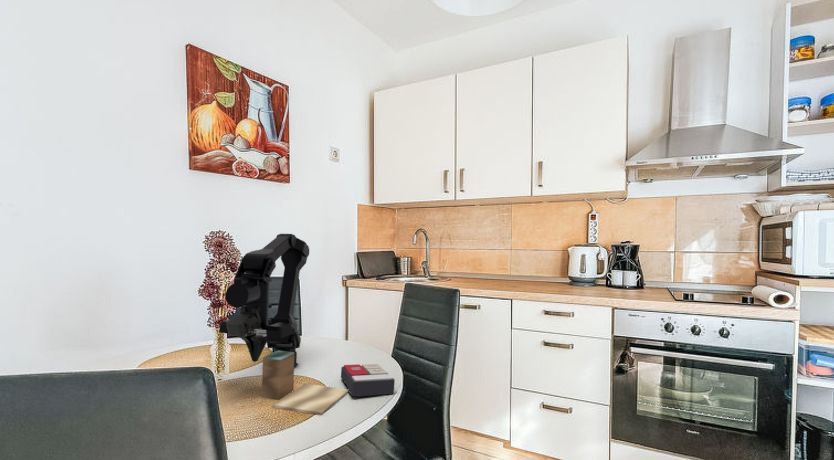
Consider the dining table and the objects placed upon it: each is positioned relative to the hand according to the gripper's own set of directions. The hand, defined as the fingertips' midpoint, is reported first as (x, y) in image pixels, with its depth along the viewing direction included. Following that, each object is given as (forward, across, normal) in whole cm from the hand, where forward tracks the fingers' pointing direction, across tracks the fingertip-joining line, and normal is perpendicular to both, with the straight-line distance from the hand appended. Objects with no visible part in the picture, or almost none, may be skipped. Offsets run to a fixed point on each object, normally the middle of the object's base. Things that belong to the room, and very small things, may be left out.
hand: (255, 361), depth 100 cm
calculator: (+7, +26, +12) cm, 30 cm away
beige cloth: (+8, +17, 0) cm, 19 cm away
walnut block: (+8, +7, 0) cm, 10 cm away
